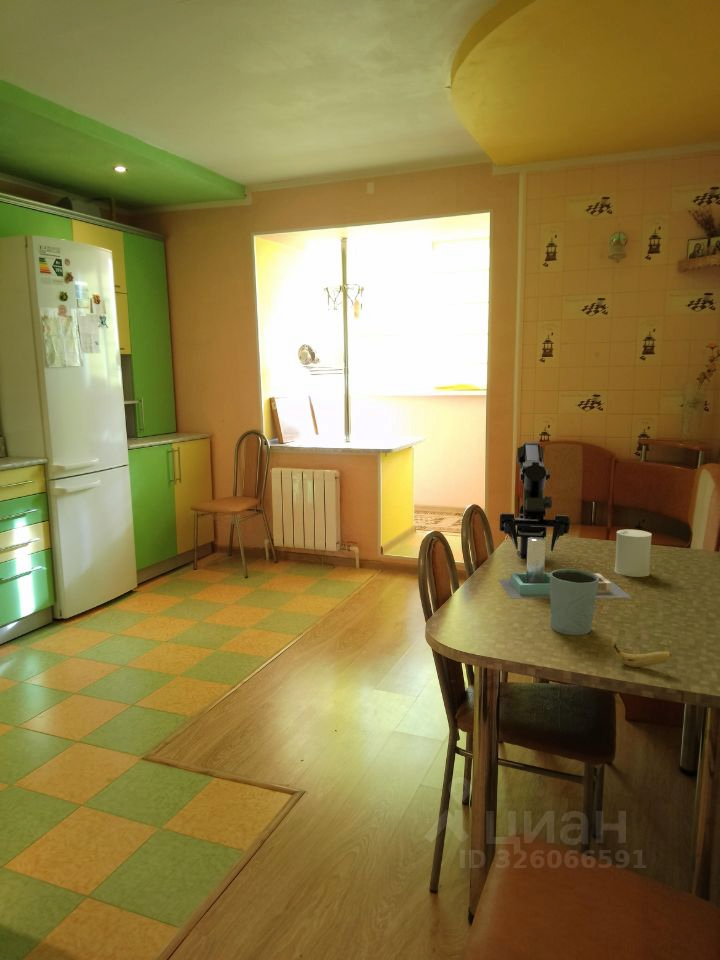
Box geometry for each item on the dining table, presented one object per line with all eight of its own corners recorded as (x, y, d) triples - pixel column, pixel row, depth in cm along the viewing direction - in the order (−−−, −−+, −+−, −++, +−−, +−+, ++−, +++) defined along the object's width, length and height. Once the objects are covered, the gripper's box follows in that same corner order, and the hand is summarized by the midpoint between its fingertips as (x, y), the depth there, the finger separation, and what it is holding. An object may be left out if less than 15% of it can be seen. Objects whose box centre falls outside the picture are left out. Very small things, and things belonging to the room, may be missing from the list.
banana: (670, 670, 124) (671, 650, 124) (669, 675, 122) (671, 654, 122) (613, 660, 129) (614, 641, 128) (612, 665, 127) (613, 645, 126)
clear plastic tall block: (527, 584, 175) (529, 536, 173) (544, 586, 174) (546, 538, 172) (524, 589, 171) (526, 540, 169) (542, 591, 170) (544, 542, 168)
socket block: (567, 582, 177) (567, 573, 176) (598, 582, 177) (599, 573, 176) (577, 592, 168) (578, 583, 168) (610, 592, 168) (611, 583, 168)
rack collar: (510, 582, 178) (510, 573, 177) (549, 581, 178) (549, 572, 177) (519, 594, 167) (520, 585, 167) (560, 594, 167) (561, 584, 167)
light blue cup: (545, 618, 152) (547, 567, 150) (592, 621, 150) (594, 569, 148) (550, 635, 142) (552, 581, 140) (600, 638, 140) (602, 583, 138)
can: (610, 567, 191) (612, 527, 189) (643, 568, 190) (645, 527, 189) (619, 577, 182) (621, 534, 180) (654, 578, 181) (657, 535, 180)
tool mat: (497, 580, 180) (497, 579, 180) (607, 579, 180) (607, 578, 180) (511, 599, 164) (511, 598, 164) (631, 598, 165) (631, 597, 164)
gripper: (500, 484, 184) (499, 532, 175) (570, 486, 180) (573, 535, 171) (499, 507, 192) (499, 553, 183) (566, 509, 189) (569, 557, 180)
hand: (534, 549), depth 179 cm, fingers open, 9 cm apart
